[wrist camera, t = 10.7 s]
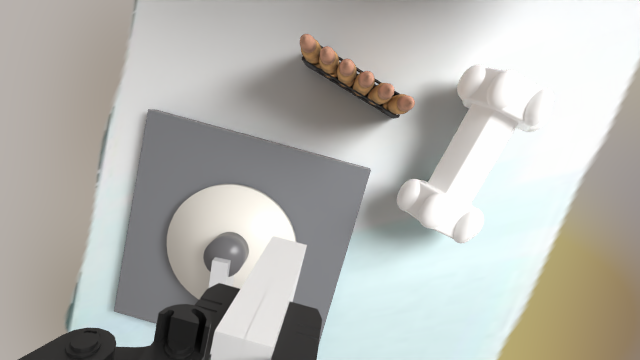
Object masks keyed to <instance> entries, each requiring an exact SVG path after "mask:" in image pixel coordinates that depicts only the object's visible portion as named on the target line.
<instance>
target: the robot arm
mask: <svg viewBox="0 0 640 360" xmlns="http://www.w3.org/2000/svg"><path fill="white" fill-rule="evenodd" d="M306 247H307V245H305V244H301V243H297V242H294V241H290V240H286V239H282V238H279V237H275V236H273V237H272V238H271V240H270V242H269V243H268V245H267V246H266V248H265V250H264V251H263V253H262V255H261V256H260V258H259V260H258V261H257V263H256V264H255V266H254V268H253V269H252V271H251V273H250V274H249V276H248V277H247V279H246V281H245V282H244V284H243V286H242V287H241V289H239V288H236V287H232V286H229V285H225V284H221V283H218V284H216V285H214V286H212V287H210V288H208V289H207V290H206V291H205V292H204V294H203V295H202V296H201V297H200V299H199V300H198V301H197V302H196V304H195V305H190V304H177V305H173V306H170V307H166V308H165V309H163V310H162V311H160V312H159V313H158V319H157V325H156V331H155V337H154V342H153V343H152V344H151V345H150V346H146V347H116V341H115V337H114V336H113V335H112V334H111V333H110V332H109V331H106V330H103V329H100V328H83V329H78V330H74V331H71V332H69V333H66V334H64V335H62V336H60V337H58V338H56V339H55V340H53V341H51V342H49V343H47V344H46V345H44V346H42V347H40V348H38V349H37V350H35V351H33V352H31V353H29V354H27V355H26V356H24V357H22V358H20V359H19V360H316V359H317V352H318V345H319V338H320V331H321V325H322V318H321V315H320V313H319V311H318V309H316V308H312V307H309V306H305V305H301V304H298V303H294V302H293V298H294V294H295V290H296V286H297V282H298V278H299V275H300V271H301V267H302V263H303V259H304V255H305V251H306Z"/></svg>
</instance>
